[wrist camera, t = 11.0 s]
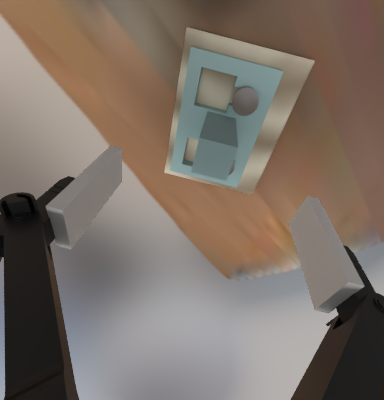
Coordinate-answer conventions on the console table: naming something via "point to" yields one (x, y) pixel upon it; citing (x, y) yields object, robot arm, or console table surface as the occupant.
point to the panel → (198, 110)
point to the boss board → (224, 93)
